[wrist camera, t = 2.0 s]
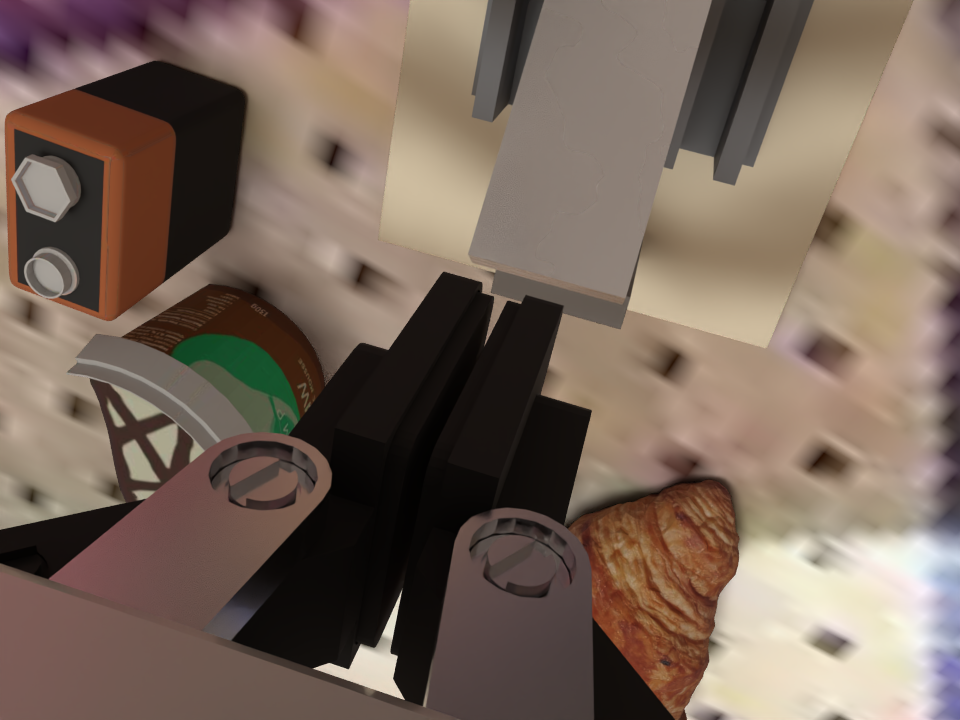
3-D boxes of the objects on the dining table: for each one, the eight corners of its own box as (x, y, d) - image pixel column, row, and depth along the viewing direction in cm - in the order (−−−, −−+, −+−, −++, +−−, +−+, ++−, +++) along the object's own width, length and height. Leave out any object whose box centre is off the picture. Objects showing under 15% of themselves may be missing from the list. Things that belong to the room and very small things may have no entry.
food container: (365, 484, 45) (280, 630, 36) (254, 473, 46) (148, 612, 38) (326, 257, 39) (214, 369, 30) (201, 254, 40) (61, 359, 32)
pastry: (414, 466, 44) (357, 578, 37) (738, 470, 39) (740, 598, 32) (469, 703, 51) (430, 832, 45) (744, 728, 47) (747, 875, 40)
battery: (251, 89, 36) (103, 161, 27) (232, 237, 39) (97, 340, 31) (153, 55, 36) (-23, 115, 28) (143, 204, 40) (-15, 298, 31)
